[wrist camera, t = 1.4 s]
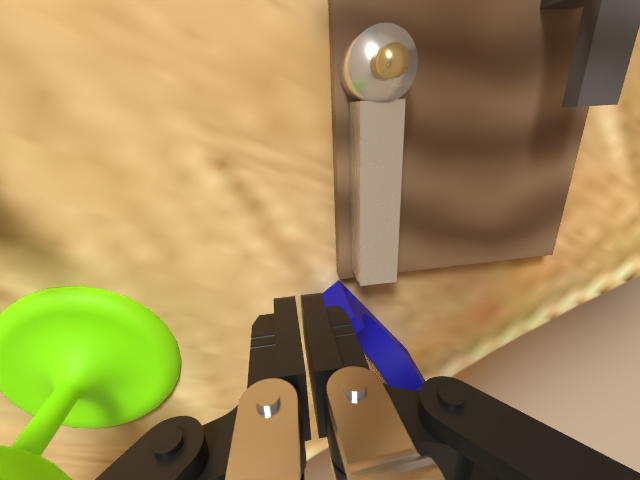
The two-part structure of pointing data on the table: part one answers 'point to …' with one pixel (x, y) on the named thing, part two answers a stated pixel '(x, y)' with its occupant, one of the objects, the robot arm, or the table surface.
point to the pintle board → (484, 119)
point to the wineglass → (79, 368)
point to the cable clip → (376, 340)
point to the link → (377, 145)
